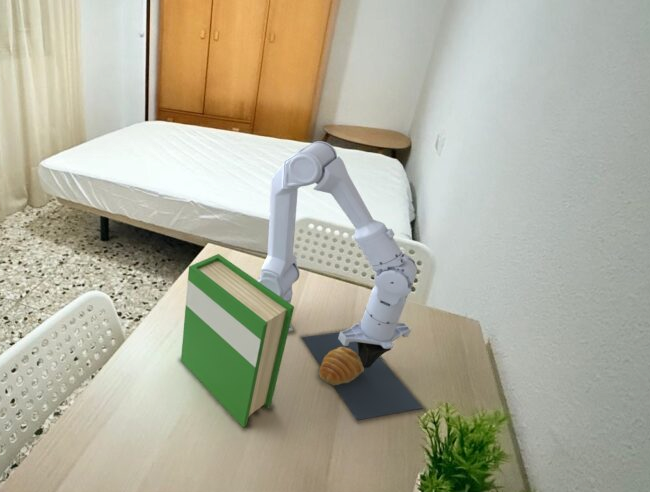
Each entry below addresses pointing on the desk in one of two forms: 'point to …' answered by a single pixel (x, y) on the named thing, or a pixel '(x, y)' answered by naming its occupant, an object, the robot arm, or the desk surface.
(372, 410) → the napkin
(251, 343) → the hardback book
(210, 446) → the desk surface
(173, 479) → the desk surface
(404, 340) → the desk surface
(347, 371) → the pastry
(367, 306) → the robot arm
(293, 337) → the desk surface
